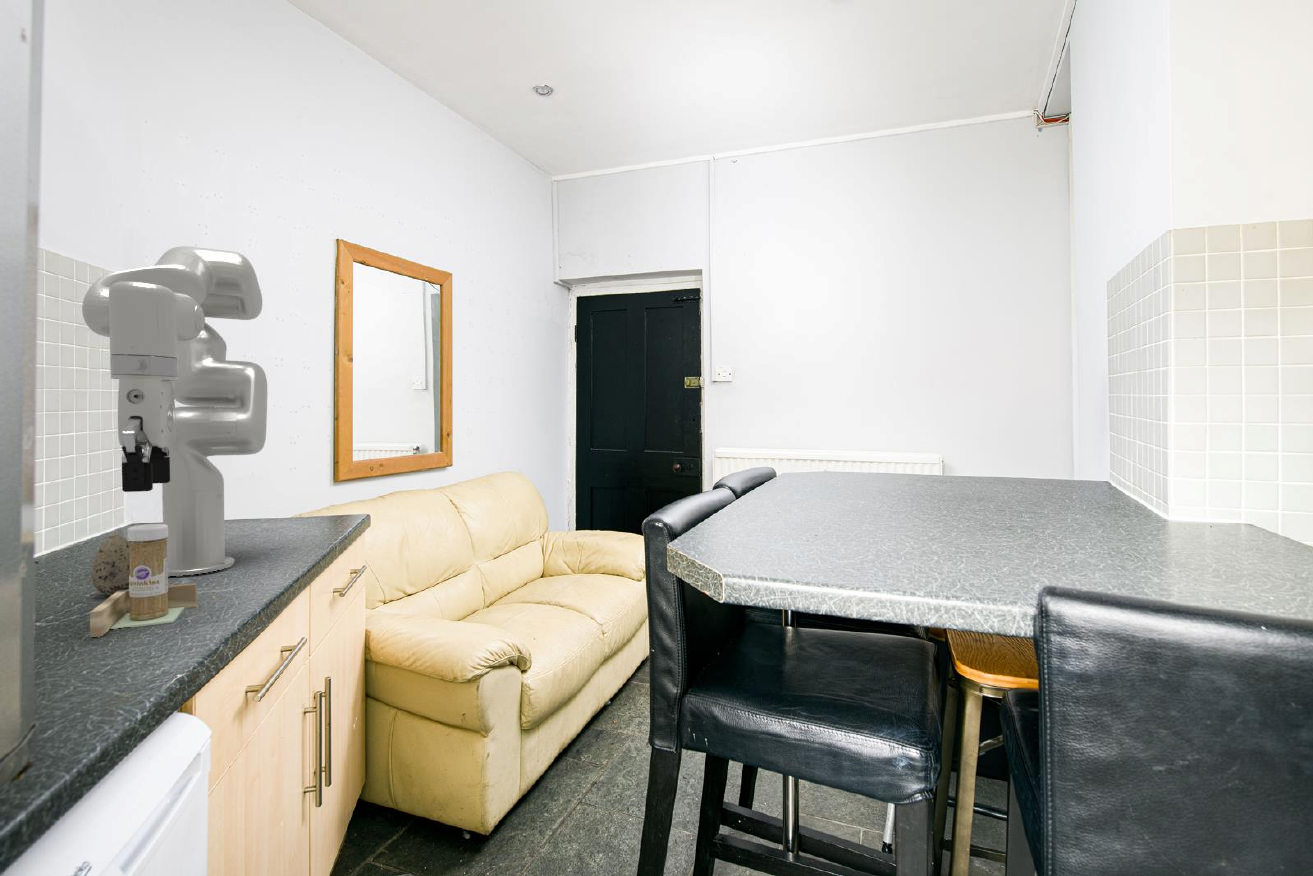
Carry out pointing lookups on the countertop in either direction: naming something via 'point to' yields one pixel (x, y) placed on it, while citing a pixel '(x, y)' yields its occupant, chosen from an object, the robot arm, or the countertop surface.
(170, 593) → the corner walls
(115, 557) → the decorative egg
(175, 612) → the pad
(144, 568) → the sprinkles bottle
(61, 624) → the countertop surface
